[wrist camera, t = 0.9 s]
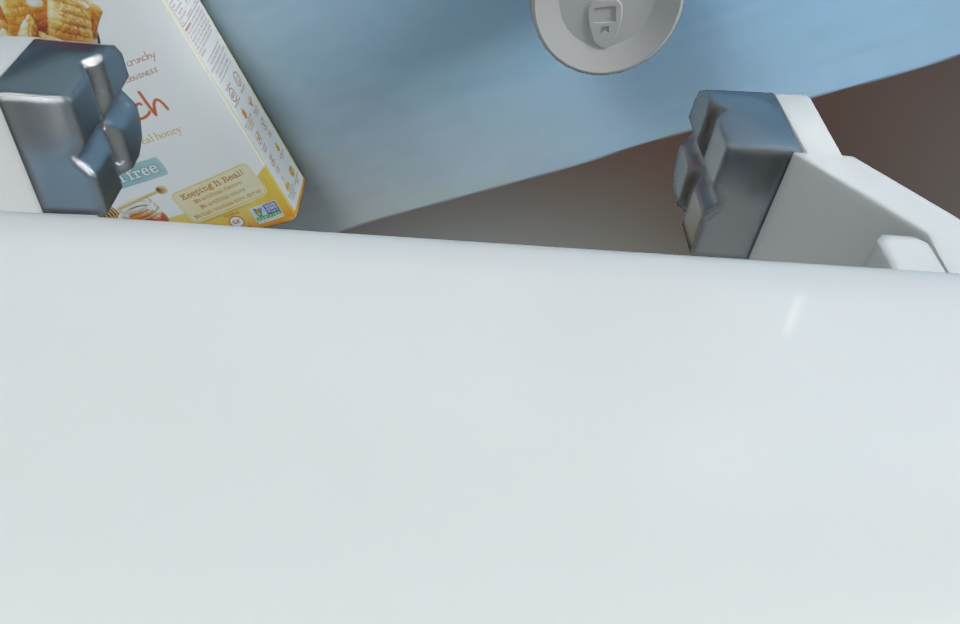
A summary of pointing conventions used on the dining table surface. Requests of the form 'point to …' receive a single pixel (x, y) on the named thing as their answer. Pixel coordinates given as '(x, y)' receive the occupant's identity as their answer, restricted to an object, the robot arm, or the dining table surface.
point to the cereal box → (179, 112)
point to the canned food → (604, 31)
